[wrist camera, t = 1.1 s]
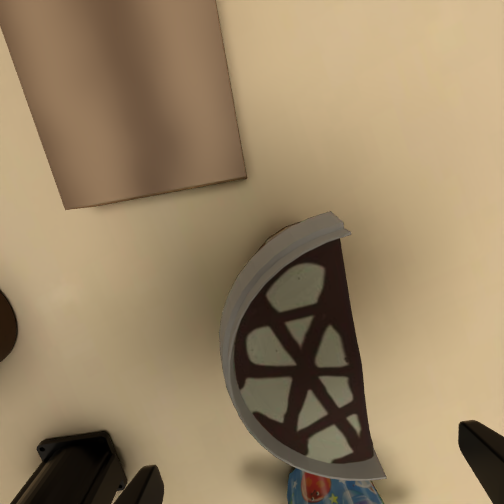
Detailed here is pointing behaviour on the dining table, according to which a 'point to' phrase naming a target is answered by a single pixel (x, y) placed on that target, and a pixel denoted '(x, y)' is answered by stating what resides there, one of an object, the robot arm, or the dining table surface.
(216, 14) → the base board
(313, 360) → the food container
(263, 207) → the dining table surface
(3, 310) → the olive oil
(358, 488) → the snack cup
